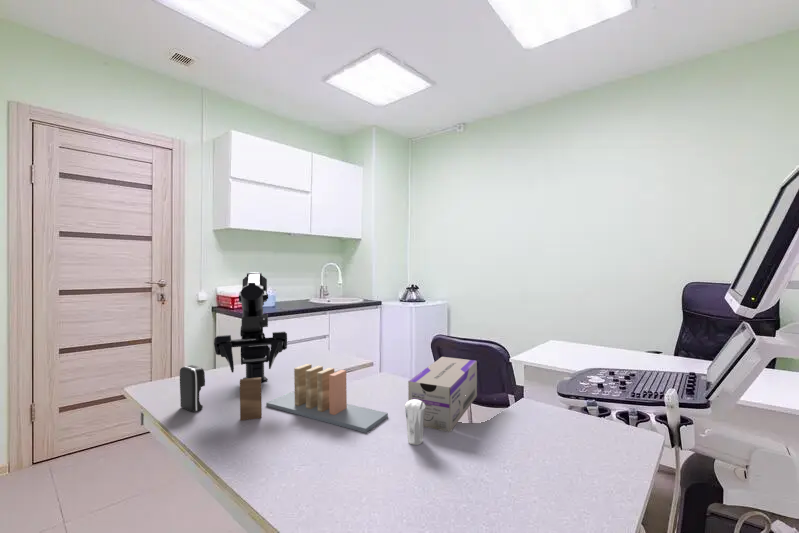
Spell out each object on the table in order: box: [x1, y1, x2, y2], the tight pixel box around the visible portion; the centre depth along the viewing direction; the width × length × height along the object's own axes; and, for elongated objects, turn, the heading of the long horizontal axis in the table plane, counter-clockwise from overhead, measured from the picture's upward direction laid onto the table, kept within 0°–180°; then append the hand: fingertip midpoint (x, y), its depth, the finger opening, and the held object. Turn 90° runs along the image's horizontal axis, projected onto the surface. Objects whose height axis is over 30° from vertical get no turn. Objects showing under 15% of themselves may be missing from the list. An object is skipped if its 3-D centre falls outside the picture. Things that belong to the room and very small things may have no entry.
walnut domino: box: [239, 377, 263, 422], centre depth 97 cm, size 2×5×10 cm, turn 109°
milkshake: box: [404, 399, 426, 446], centre depth 84 cm, size 4×5×10 cm
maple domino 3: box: [317, 367, 335, 412], centre depth 100 cm, size 2×5×10 cm, turn 151°
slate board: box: [265, 390, 389, 434], centre depth 101 cm, size 33×10×1 cm, turn 61°
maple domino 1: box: [293, 363, 313, 406], centre depth 104 cm, size 2×5×10 cm, turn 151°
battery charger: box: [179, 364, 206, 413], centre depth 103 cm, size 7×4×11 cm, turn 57°
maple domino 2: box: [306, 365, 324, 409], centre depth 102 cm, size 2×5×10 cm, turn 151°
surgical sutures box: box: [407, 356, 478, 433], centre depth 102 cm, size 25×11×11 cm, turn 154°
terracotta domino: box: [329, 369, 348, 415], centre depth 98 cm, size 2×5×10 cm, turn 151°
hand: (251, 370), depth 101 cm, fingers open, 9 cm apart
